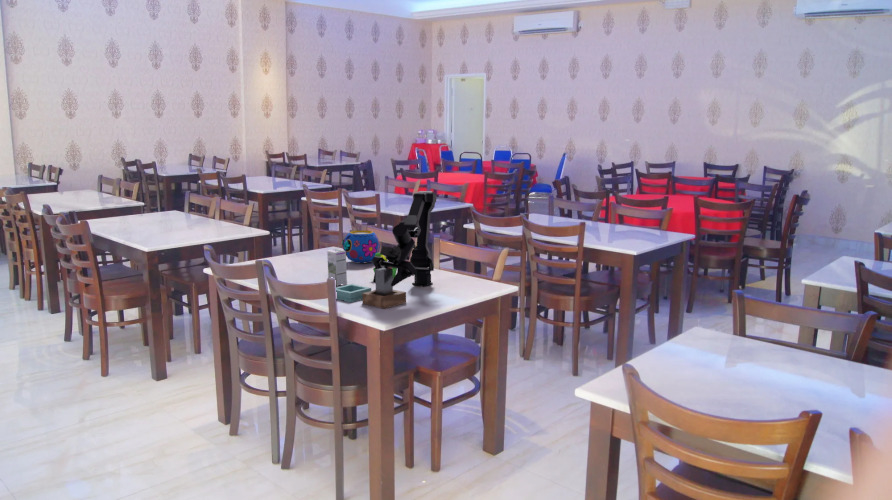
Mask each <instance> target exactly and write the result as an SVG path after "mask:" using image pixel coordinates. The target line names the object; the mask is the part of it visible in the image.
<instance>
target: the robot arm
mask: <svg viewBox="0 0 892 500" xmlns="http://www.w3.org/2000/svg"><path fill="white" fill-rule="evenodd" d="M437 197H438V196H437V194H436V193H434V191H431V190H430V191H428V190H425V191H424V190H422V191H421V190H419V191H417V192H414V193H413V195H412V202H411V205H410V207H409V212H408V214H407V217H405V218H404V219H402V221H399V223H398V224H396V225H395V226H394V227H393V228H392V230H391V231H392V234H393V237H394V239H395V241H396V243H397V245H395V246H393V247H392V246H386V245H385V246H384V245H382V246H381V247H380V248H381V249H380V251H379V253H380V254H381V255H383V256H385V258H386V259H387V260H388V261H385V260H384V258H383V257H378V256H375V257H373V259H372V261H371V263H372V265H373V266H374V268H375V269H380V268H388V267H391V268H397V271H396V275H395V277H393V281H392V283H391V286H393V287H394V286H396V285H398V284H399V283H400V282H403V281H404V280H406V279H407V278H410V277H412V276H413V277H414V282H412V283H411V284H412V286H418V287H426V286H431V285H433V284H434V283H433V282H432V274H431V272H433V271H435V269H434V268H435V263H434V261H433V259H432V257H431V255H432V253H431V251H430V249H429V247H428V245H429V235H430V234H429V233H430V222H431V221H430V220H431V213H432V211H433V209H434V208H435V205H436V203H437ZM415 238H416V241H415V240H414V239H415ZM410 254H411V256H410ZM372 281H373V283H374V284H376V280H375V273H374V276H373V280H372Z"/></svg>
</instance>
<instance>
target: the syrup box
mask: <svg viewBox="0 0 892 500" xmlns="http://www.w3.org/2000/svg"><path fill="white" fill-rule="evenodd" d="M326 252H327V269H328V270H327V272H328V273H327V277H328V279H329V278H331V277H333V278H335V280H336V285H341V284H345V285H348V280H347V279H348V275H347V273H348V272H347V256H346V251H344V250H343V249H337V248H335V249H328V250H327V251H326ZM341 286H342V285H341Z"/></svg>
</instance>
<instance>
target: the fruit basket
mask: <svg viewBox="0 0 892 500" xmlns="http://www.w3.org/2000/svg"><path fill="white" fill-rule="evenodd" d="M375 256H378V257H383V258H384V260H385V261H387V262H388V260H387V259H386V258H385V257H386V256H384V255H381V254H380V252H379V253H376V254H375ZM388 268H389V269H392V271H393V278H394V277H395V275H396V274H397V270H398V269H397V268H391V267H388ZM372 270H373V272H374V274H375V267H374V268H373V269H372Z"/></svg>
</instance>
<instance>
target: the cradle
mask: <svg viewBox="0 0 892 500" xmlns="http://www.w3.org/2000/svg"><path fill="white" fill-rule="evenodd" d="M335 288H336V292H337V299H339V300H338V301H341V300H344V301H343V302H346V301H347V302H346V303H350V302H351V303H354V301H355V302H358V301H363V297H362V293H366V292H370V291H372V287H370V286H369V287H368V286H363V285H359V284H354V283H350V284H345V285H341V286H336V287H335ZM337 299H336V300H337Z"/></svg>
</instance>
